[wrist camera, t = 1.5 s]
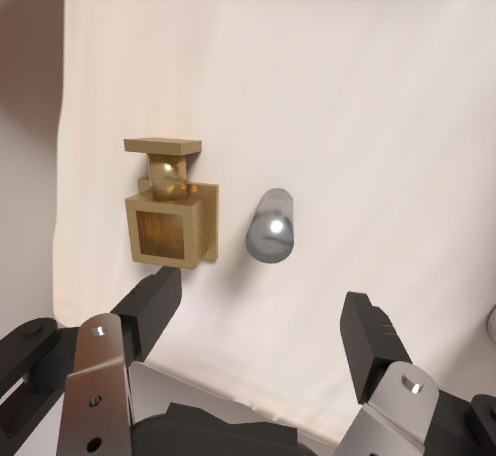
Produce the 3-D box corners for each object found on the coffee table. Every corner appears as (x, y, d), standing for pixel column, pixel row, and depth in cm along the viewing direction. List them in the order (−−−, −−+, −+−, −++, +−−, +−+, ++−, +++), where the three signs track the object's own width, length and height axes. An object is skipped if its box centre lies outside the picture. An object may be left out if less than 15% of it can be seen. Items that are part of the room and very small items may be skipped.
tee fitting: (219, 142, 25) (202, 144, 21) (217, 257, 30) (203, 281, 26) (137, 136, 27) (103, 137, 22) (148, 248, 32) (123, 269, 27)
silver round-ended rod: (294, 189, 26) (296, 222, 17) (291, 220, 27) (290, 266, 18) (262, 187, 26) (246, 217, 17) (260, 217, 28) (244, 260, 18)
